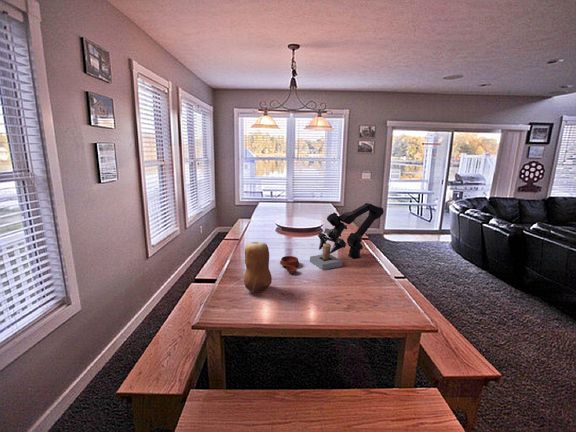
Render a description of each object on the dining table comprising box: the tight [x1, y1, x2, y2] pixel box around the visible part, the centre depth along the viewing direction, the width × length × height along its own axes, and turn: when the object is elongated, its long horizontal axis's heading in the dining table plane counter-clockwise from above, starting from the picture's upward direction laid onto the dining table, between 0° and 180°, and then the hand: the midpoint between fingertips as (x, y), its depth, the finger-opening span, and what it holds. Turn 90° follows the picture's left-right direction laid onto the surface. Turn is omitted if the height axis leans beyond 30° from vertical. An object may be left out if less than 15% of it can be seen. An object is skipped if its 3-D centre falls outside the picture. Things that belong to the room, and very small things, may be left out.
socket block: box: [309, 253, 343, 271], centre depth 180 cm, size 14×14×4 cm
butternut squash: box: [243, 241, 273, 293], centre depth 142 cm, size 14×13×25 cm
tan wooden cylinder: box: [322, 243, 332, 261], centre depth 179 cm, size 5×5×12 cm
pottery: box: [279, 255, 300, 275], centre depth 173 cm, size 12×20×4 cm, turn 6°
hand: (324, 251), depth 178 cm, fingers open, 8 cm apart
